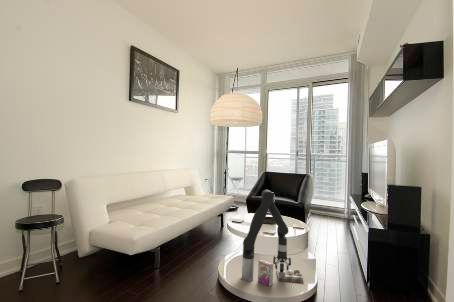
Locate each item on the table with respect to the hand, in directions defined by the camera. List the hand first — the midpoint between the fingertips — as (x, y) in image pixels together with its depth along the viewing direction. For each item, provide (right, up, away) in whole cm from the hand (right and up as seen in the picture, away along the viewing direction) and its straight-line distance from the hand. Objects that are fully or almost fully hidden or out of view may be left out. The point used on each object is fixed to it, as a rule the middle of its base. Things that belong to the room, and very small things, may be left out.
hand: (281, 269), depth 195 cm
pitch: (+7, -9, +4) cm, 12 cm away
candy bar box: (-15, -7, -8) cm, 19 cm away
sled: (0, -6, +3) cm, 7 cm away
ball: (+9, -5, +6) cm, 12 cm away
